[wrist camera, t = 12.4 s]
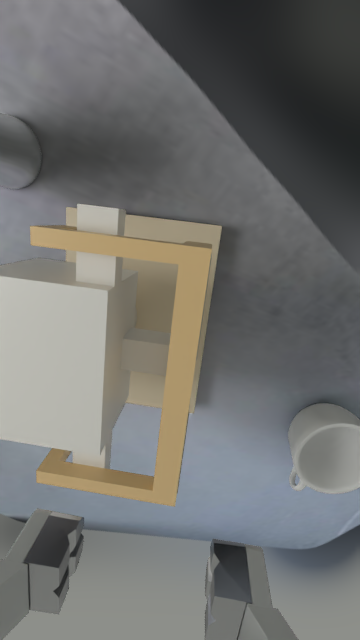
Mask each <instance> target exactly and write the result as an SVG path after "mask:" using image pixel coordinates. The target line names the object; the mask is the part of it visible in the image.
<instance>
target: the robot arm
mask: <svg viewBox="0 0 360 640" xmlns="http://www.w3.org/2000/svg"><path fill="white" fill-rule="evenodd" d="M83 527H84V518H83V517H79V516H74V515H69V514H64V513H59V512H54V511H49V510H43V509H36V510H35V511H34V512H33V513H32V515H31V517H30V518H29V520H28V521H27V523H26V525H25V527H24V528H23V530H22V531H21V533H20V535H19V536H18V538H17V540H16V541H15V543H14V544H13V546H12V548H11V549H10V551H9V552H8V554H7V556H6V557H5V559H4V560H3V559H0V640H2V639H3V638H4V637H5V636H6V635H7V634H8V633H9V632H10V631H11V630H12V629H13V628H14V627H15V626H16V625H17V624H18V623H19V622H20V621H21V620H22V619H23V618H24V617H25V616H26V615H27V614H28V613H29V610H33V611H40V612H46V613H53V614H59V612H60V610H61V607H62V605H63V602H64V599H65V597H66V594H67V592H68V589H69V577H70V576H71V575H72V574H73V573H75V571H76V568H77V565H78V563H79V559H80V556H81V552H82V547H83V539H84V537H83V535H82V534H81V532H82V529H83ZM205 581H206V582H205V596H206V598H207V605H206V610H205V640H298V638H297V637H296V635H295V634H294V632H293V631H292V629H291V628H290V626H289V625H288V623H287V622H286V620H285V619H284V617H283V616H282V614H281V613H280V611H279V610H278V609H276V608H273V607H272V601H271V595H270V589H269V584H268V577H267V572H266V566H265V560H264V554H263V550H262V548H261V547H259V546H253V545H247V544H244V543H237V542H231V541H224V540H218V539H212V542H211V546H210V557H209V558H208V562H207V569H206V580H205Z"/></svg>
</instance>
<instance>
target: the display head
mask: <svg viewBox="0 0 360 640" xmlns="http://www.w3.org/2000/svg"><path fill="white" fill-rule="evenodd" d="M66 226H73V227H77V230H80V231H88V232H96V233H104V234H112V235H120V236H127V237H135V238H143V239H151V240H159V241H167V242H175V243H184V242H186V241H192V242H200V243H208V244H212V258H211V265H210V272H209V279H208V286H207V293H206V300H205V306H204V313H203V320H202V327H201V334H200V341H199V348H198V355H197V360H196V363H195V370H194V377H193V384H192V391H191V400H190V408H189V413H194V409H195V402H196V396H197V389H198V382H199V376H200V369H201V362H202V356H203V349H204V342H205V336H206V329H207V322H208V316H209V309H210V302H211V296H212V289H213V283H214V276H215V269H216V263H217V256H218V249H219V243H220V236H221V229H222V226H218V225H210V224H201V223H193V222H185V221H177V220H169V219H161V218H153V217H144V216H136V215H128V214H126V210H124V209H117V208H109V207H101V206H92V205H84V204H77V208H71V207H66ZM178 266H179V265H178V264H171V263H163V262H156V261H148V260H140V259H133V258H125V257H117V256H110V255H102V254H94V253H87V252H79V251H71V250H66V261H59V260H52V259H44V258H34V259H29V260H24V261H19V262H14V263H9V264H4V265H0V439H2V440H8V441H14V442H20V443H26V444H32V445H38V446H44V447H50V448H56V449H62V450H68V451H73V463H76V464H82V465H88V466H94V467H99V468H105V469H110V458H111V442H112V430H113V427H114V425H115V423H116V421H117V419H118V417H119V415H120V413H121V411H122V409H123V407H124V405H125V403H131V404H137V405H144V406H150V407H156V408H162V405H163V396H164V388H165V379H166V370H167V362H168V353H169V344H170V335H171V327H172V318H173V309H174V301H175V292H176V283H177V274H178Z"/></svg>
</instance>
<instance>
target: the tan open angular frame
mask: <svg viewBox="0 0 360 640" xmlns="http://www.w3.org/2000/svg"><path fill="white" fill-rule="evenodd" d="M30 235H31V245H33V246H41V247H48V248H56V249H64V250H71V251H79V252H87V253H94V254H102V255H110V256H117V257H125V258H133V259H140V260H148V261H156V262H163V263H171V264H178V265H179V266H178V274H177V283H176V292H175V301H174V309H173V318H172V327H171V335H170V344H169V353H168V362H167V370H166V379H165V388H164V396H163V405H162V414H161V422H160V431H159V440H158V449H157V457H156V466H155V475H154V477H153V476H147V475H141V474H135V473H129V472H123V471H117V470H111V469H105V468H99V467H94V466H88V465H82V464H76V463H70V462H65V461H66V459H67V458H68V456H69V454H70V453H71V451H68V450H62V449H56V448H52V449H51V451H50V452H49V454H48V455H47V456H46V458H45V459H44V461H43V462H42V463H41V465H40V466H39V468H38V469H37V471H36V479H37V483H42V484H48V485H54V486H59V487H65V488H71V489H77V490H82V491H88V492H94V493H100V494H105V495H111V496H117V497H123V498H128V499H134V500H140V501H145V502H151V503H157V504H163V505H168V506H174V507H175V502H176V495H177V493H178V486H179V479H180V472H181V465H182V458H183V451H184V444H185V437H186V431H187V424H188V416H189V408H190V400H191V391H192V384H193V377H194V370H195V363H196V360H197V355H198V348H199V341H200V334H201V327H202V320H203V313H204V306H205V300H206V293H207V286H208V279H209V272H210V265H211V258H212V244H208V243H200V242H192V241H186V242H184V243H175V242H167V241H159V240H151V239H143V238H135V237H127V236H120V235H112V234H104V233H96V232H88V231H80V230H77V227H73V226H66V225H51V226H30Z"/></svg>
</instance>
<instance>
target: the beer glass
mask: <svg viewBox="0 0 360 640" xmlns="http://www.w3.org/2000/svg"><path fill="white" fill-rule="evenodd" d="M41 161H42V155H41V148H40V145H39V142H38V139H37V137H36V135H35V134H34V132H33V131H32V130H31V128H30V127H29V126H28V125H27V124H26V123H24V122H23V121H22V120H20V119H18V118H16V117H14V116H11V115H7V114H2V113H0V187H3V188H6V189H21V188H24V187H26V186H28V185H29V184H31V183H32V182H33V181H34V180H35V178H36V177H37V175H38V173H39V171H40V167H41Z"/></svg>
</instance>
